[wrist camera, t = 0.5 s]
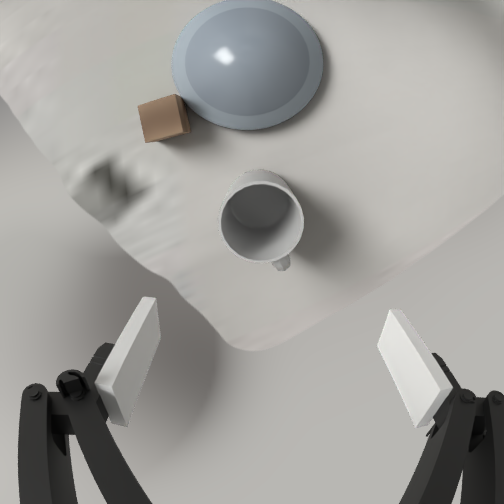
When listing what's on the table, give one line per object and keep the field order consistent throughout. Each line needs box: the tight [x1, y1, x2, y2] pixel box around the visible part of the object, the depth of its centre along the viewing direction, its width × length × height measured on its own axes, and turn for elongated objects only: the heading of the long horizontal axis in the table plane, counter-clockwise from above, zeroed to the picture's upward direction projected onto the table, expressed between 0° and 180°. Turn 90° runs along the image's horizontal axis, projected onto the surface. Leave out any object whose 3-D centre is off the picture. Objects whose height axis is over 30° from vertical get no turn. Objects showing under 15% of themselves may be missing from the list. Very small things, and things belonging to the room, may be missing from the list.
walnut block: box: [138, 94, 191, 143], centre depth 28 cm, size 4×4×4 cm
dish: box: [172, 0, 323, 130], centre depth 26 cm, size 16×16×1 cm
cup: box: [218, 170, 304, 271], centre depth 29 cm, size 7×10×9 cm
